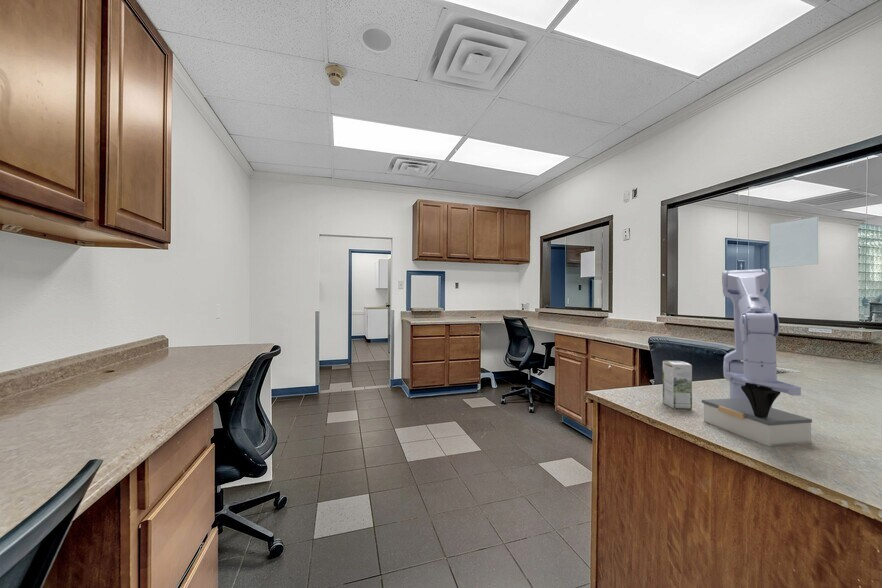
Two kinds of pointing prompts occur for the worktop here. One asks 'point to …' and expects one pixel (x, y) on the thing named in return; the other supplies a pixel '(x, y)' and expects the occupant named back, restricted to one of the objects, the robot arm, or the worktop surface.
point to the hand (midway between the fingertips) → (760, 416)
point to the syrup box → (677, 384)
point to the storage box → (760, 429)
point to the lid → (744, 409)
